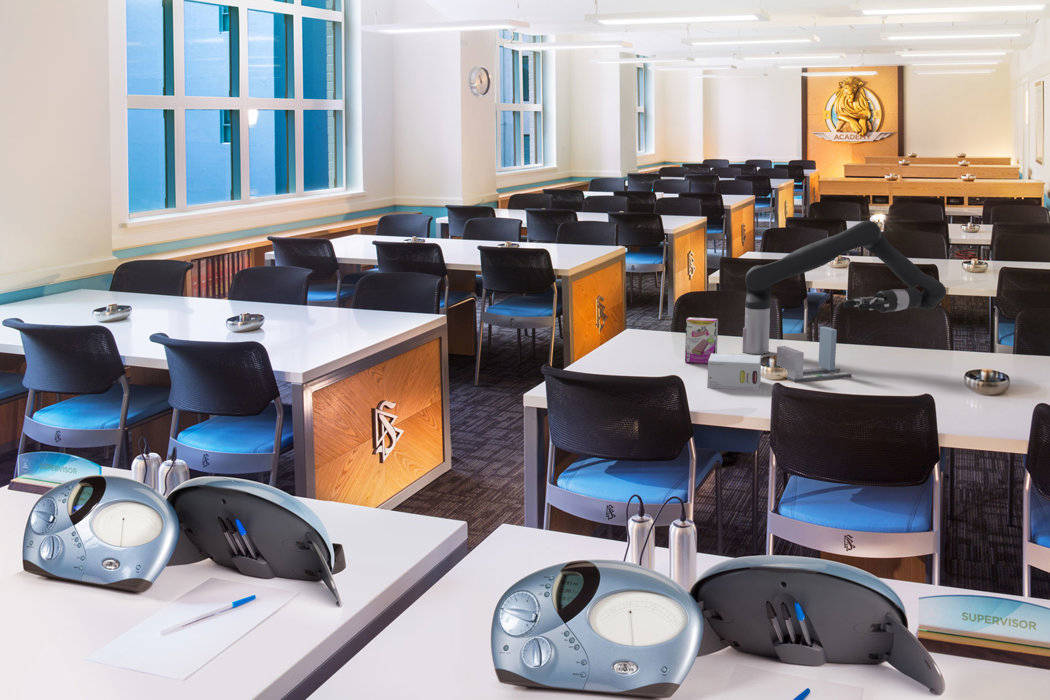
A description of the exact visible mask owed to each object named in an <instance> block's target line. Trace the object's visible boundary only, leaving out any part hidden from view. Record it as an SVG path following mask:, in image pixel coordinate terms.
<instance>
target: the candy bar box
mask: <svg viewBox="0 0 1050 700" xmlns="http://www.w3.org/2000/svg"><path fill="white" fill-rule="evenodd" d="M685 320H686V321H685V345H684V346H685V349H684V350H685V351H684V352H685V354H684V355H685V356H684V363H686V364H697V365H699V364H700V365H701V364H702V365H708V360H709V358H710V355H711V353H714V354H718V331H719V329H718V327H719V319H718V318H706V317H689V316H688V317H687V318H686V319H685Z"/></svg>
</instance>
